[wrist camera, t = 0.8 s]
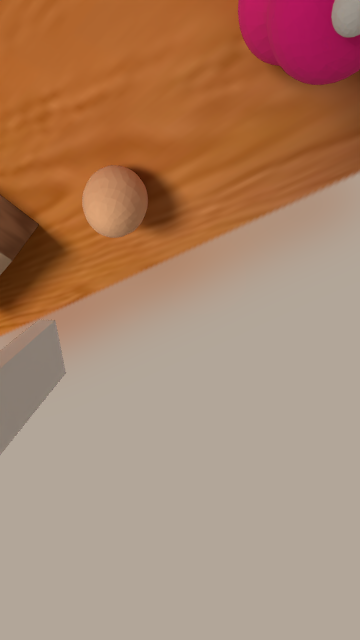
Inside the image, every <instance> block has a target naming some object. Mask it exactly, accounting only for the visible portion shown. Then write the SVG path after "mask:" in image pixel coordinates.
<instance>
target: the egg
mask: <svg viewBox="0 0 360 640" xmlns="http://www.w3.org/2000/svg"><path fill="white" fill-rule="evenodd" d="M82 205H83V210H84V213H85V217H86V219H87V221H88V223H89V224H90V225H91V227H92V228H93V229H94V230H95V231H97V232H98V233H100V234H101V235H104V236H107V237H122V236H124V235H127V234H129V233H131V232H133V231H134V230H135V229H136V228H137V227H138V226H139V225H140V224H141V222H142V220H143V218H144V216H145V214H146V210H147V207H148V196H147V191H146V188H145V185H144V184H143V182H142V180H141V179H140V178H139V176H138V175H137V174H136V173H135V172H133V171H132V170H130V169H128V168H126V167H123V166H116V165H111V166H106V167H104V168H101V169H99V170H98V171H97V172H95V173H94V174H93V175H92V176H91V177H90V179H89V180H88V182H87V184H86V186H85V189H84V192H83V198H82Z"/></svg>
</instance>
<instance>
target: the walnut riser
mask: <svg viewBox="0 0 360 640" xmlns="http://www.w3.org/2000/svg"><path fill="white" fill-rule="evenodd" d="M38 225H39V224H37V223H36V222H35V221H33V220H32V219H31V218H29V217H28V216H27V215H26V214H24V213H23V212H22V211H20V210H19V209H18V208H16V207H15V206H14V205H13V204H11V203H10V202H9V201H7V200H6V199H5V198H3V197H2V196H1V195H0V275H1V274H2V272H3V271H4V270H5V269H6V268H7V266H8V265H9V264H10V263H11V262H12V261H13V259H14V258H15V256H16V255H17V254H18V252H19V251H20V250H21V248H22V247H23V246H24V244H25V243H26V241H27V240H28V239H29V237H30V236H31V235H32V233H33V232H34V231H35V229H36V228H37V226H38Z"/></svg>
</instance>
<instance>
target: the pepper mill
mask: <svg viewBox="0 0 360 640" xmlns="http://www.w3.org/2000/svg"><path fill="white" fill-rule="evenodd" d="M238 16H239V24H240V30H241V33H242V36H243V39H244V41H245V43H246V45H247V47H248V48H249V49H250V51H251V52H252V53H253V54H254V55H255V56H256V57H257V58H259V59H260V60H262V61H264V62H266V63H269V64H272V65H278V66H281V67H282V69H283V70H284V71H285V72H286V73H287V74H288V75H290V76H291V77H293V78H294V79H296V80H298V81H301V82H303V83H307V84H312V85H324V84H329V83H335V82H337V81H340V80H342V79H345V78H347V77H349V76H350V75H352V74H354V73H355V72H357V71H358V70H360V0H239V5H238Z"/></svg>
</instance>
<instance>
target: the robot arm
mask: <svg viewBox="0 0 360 640" xmlns="http://www.w3.org/2000/svg"><path fill="white" fill-rule="evenodd" d="M65 373H66V372H65V367H64V362H63V357H62V352H61V347H60V342H59V337H58V332H57V327H56V322H55V320H40V319H39V320H38V321H36V322H35V323H34V324H33V325H31V326H30V327H29V328H28V329H26V330H25V331H24V332H23V333H22V334H20V335H19V336H18V337H16V338H15V339H14V340H13V341H11V342H10V343H9V344H8V345H6V346H5V347H4V348H3V349H2V350H0V455H1V453H2V452H3V451H4V450H5V448H6V447H7V446H8V445H9V443H10V442H11V441H12V439H13V438H14V437H15V436H16V435H17V433H18V432H19V431H20V430H21V428H22V427H23V426H24V425H25V423H26V422H27V421H28V419H29V418H30V417H31V416H32V414H33V413H34V412H35V411H36V410H37V408H38V407H39V406H40V404H41V403H42V402H43V401H44V400H45V398H46V397H47V396H48V395H49V393H50V392H51V391H52V390H53V388H54V387H55V386H56V385H57V383H58V382H59V381H60V380H61V378H62V377H63V376H64V375H65Z"/></svg>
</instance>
